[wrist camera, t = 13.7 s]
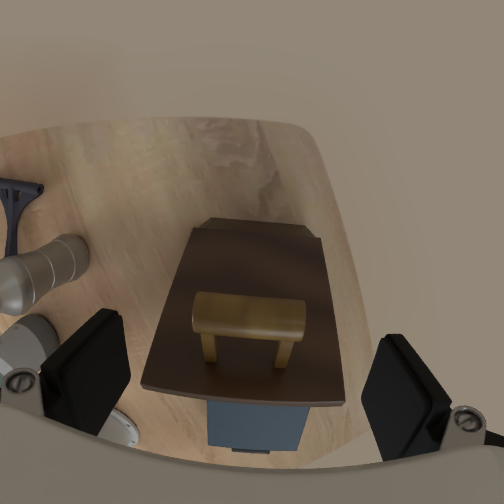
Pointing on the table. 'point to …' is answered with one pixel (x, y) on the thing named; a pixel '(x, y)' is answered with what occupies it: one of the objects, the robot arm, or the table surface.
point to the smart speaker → (27, 344)
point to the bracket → (16, 206)
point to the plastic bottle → (40, 272)
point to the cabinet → (255, 426)
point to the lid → (249, 323)
